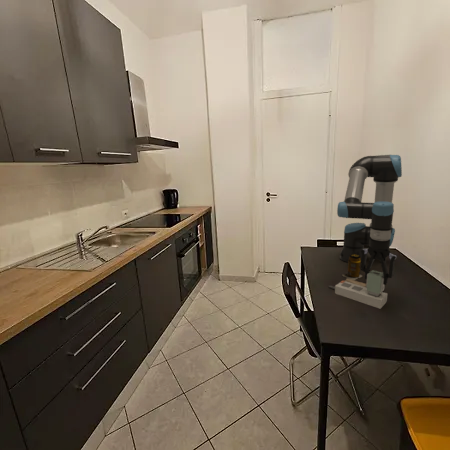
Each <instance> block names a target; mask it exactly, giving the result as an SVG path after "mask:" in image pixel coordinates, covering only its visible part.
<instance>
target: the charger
mask: <svg viewBox="0 0 450 450" xmlns="http://www.w3.org/2000/svg"><path fill="white" fill-rule="evenodd" d="M369 272H370V273H368V282H367V281H366V284H367V290H368V291H369V294H370V295H373V296H376V297H378V296H379V295H380V293H381V292H380V289H381V279H382V277H383V271H382V272H381V271H377V270H375V269H372V270H370V271H369Z"/></svg>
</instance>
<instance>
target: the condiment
mask: <svg viewBox="0 0 450 450" xmlns="http://www.w3.org/2000/svg"><path fill="white" fill-rule="evenodd" d="M347 263H348V264H347V272H346V273H344V274H341V276H343V277H345V278H346V279H347V278H348V279H351V280H355V281H357V280H358V279H360V278H362V277H363V275H362V274H360V273H361V261H360V255H358V254H350V257H349V260H348V262H347Z"/></svg>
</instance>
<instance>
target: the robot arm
mask: <svg viewBox="0 0 450 450" xmlns="http://www.w3.org/2000/svg"><path fill="white" fill-rule="evenodd" d="M402 174H403V173H402V157H401V155H399V154H381V155H379V154H378V155H366V156H363V157H361V158H359V159H357V160H356V161H355V162H354V163H353V164H352V165H351V167H350V168H349V170H348V174H347V175H348V183H347V187H346V191H345V196H344V199H343V201H339V202H338V203H337V210H336V211H337V213H336V214H337V216H338V218H343V219H358V220H359V219H360V220H371V221H370V223H369V225H366V223H364V222H353V223H351V222H350V223H348V224H346V225H345V226H344V231H343V247H342V249H341V250H340V252H339V253H340V254H339V259H340V260H341V261H342V262H346V263H348V260H349V257H350V254H358V255H360V261H361V264H360V272H364V280H366V283H365V284H366V287H367V282H368V273H370V272H371V269H372V266H373V264H374V262H375V260H378V261H380V262H379V263H380V265H381V269H382V273H383V277H382V279H381V289H380V292H383V291H384V290H385V286H386V285H387V284H388V282H389V279H392V278H393V277H394V275H395V264H396V259H397V258H398V255H397V254H393V253H391V251H390V248H391V246H392V244H393V241H394V238H395V233H396V230H395V228H394V227H393V225H392V224H393V217H394V211H395V210H394V207H395V206H394V203H393V198H394V197H393V196H394V188H395V183H397V182H398V180H399V178H401V177H402V176H403V175H402ZM367 178H373V182H374V183H375V192H374V202H362V199H363V194H364V187H365V182H366V180H367ZM365 246H368V248H364V247H365ZM368 253H369V255H370V257H369V261H368V262H367V259H368V257H367V256H368ZM387 257H389V259H390V260H389V269H388V264H387ZM383 293H384V292H383Z"/></svg>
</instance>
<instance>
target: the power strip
mask: <svg viewBox="0 0 450 450" xmlns="http://www.w3.org/2000/svg"><path fill="white" fill-rule="evenodd" d="M329 288H330V289H332V290H334V294H336V295H338V296H340V297H344V298H347V299H350V300H354V301H356V302H359V303H362V304H365V305H368V306H370V307H374V308H376V309H380V310H381V309H382V308H383V307H384V306H385V304H386V303H387V301H388V293H387V292H381V293H380V295H379V296H378V297H376V296H373V295H370V294H369V291H368V290H367V287H363V286H360V285H356V284H353V283H350V282H346V281H345V280H341V281H340V282H338V283H337V284H335V286H334V285H328V289H329Z"/></svg>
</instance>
